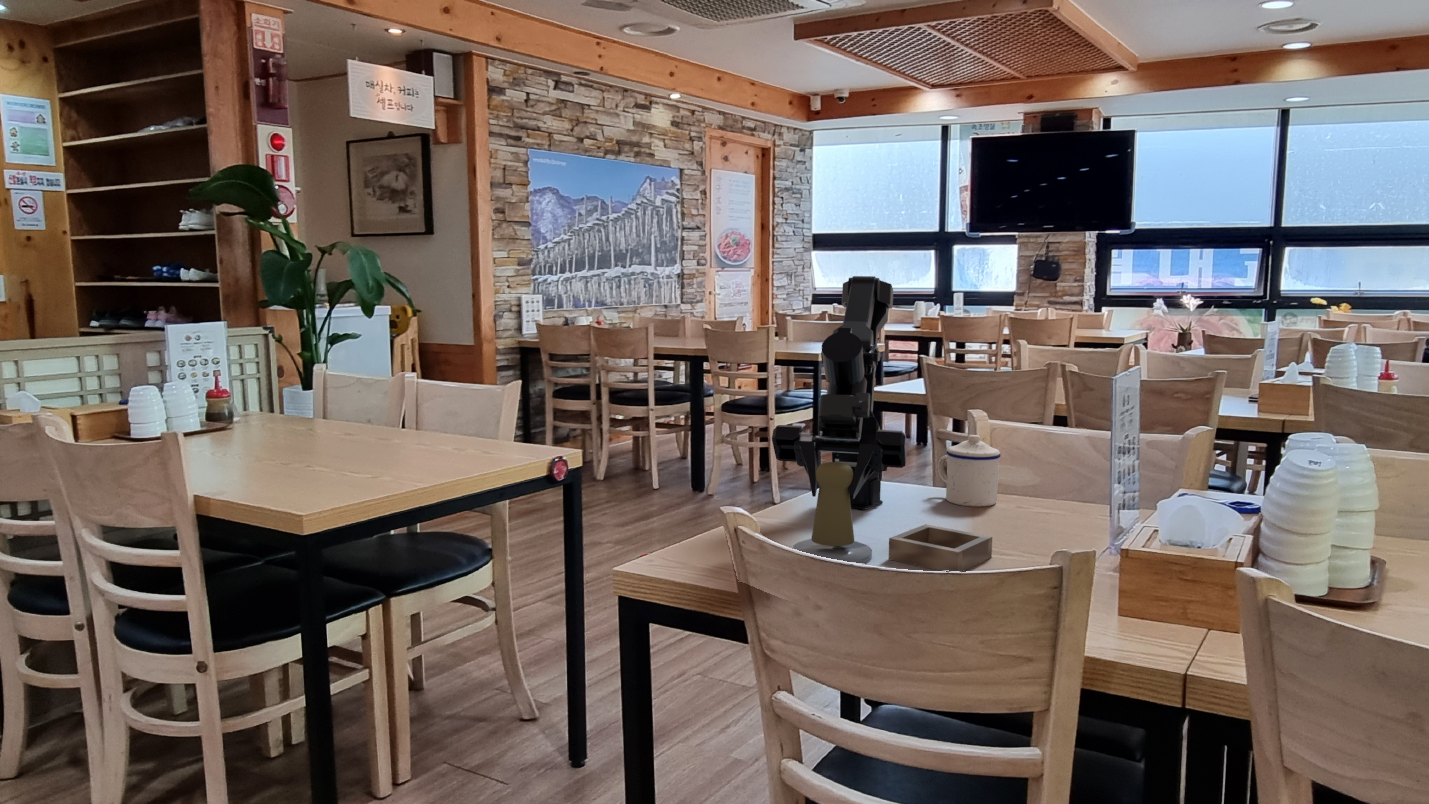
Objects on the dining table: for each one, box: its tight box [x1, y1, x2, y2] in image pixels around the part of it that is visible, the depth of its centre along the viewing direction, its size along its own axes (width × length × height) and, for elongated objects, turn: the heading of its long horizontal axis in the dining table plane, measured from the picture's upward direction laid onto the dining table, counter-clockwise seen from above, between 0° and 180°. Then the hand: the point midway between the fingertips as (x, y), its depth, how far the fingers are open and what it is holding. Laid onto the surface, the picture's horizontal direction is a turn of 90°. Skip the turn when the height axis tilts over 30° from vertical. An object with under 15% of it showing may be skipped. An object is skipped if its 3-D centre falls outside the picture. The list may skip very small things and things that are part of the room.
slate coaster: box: [792, 538, 873, 564], centre depth 141 cm, size 11×11×1 cm
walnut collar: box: [888, 523, 993, 572], centre depth 140 cm, size 10×10×3 cm
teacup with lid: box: [937, 434, 1002, 508], centre depth 176 cm, size 12×9×12 cm
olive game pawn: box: [810, 461, 855, 546], centre depth 140 cm, size 6×6×11 cm
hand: (832, 496), depth 139 cm, fingers closed on olive game pawn, 5 cm apart
